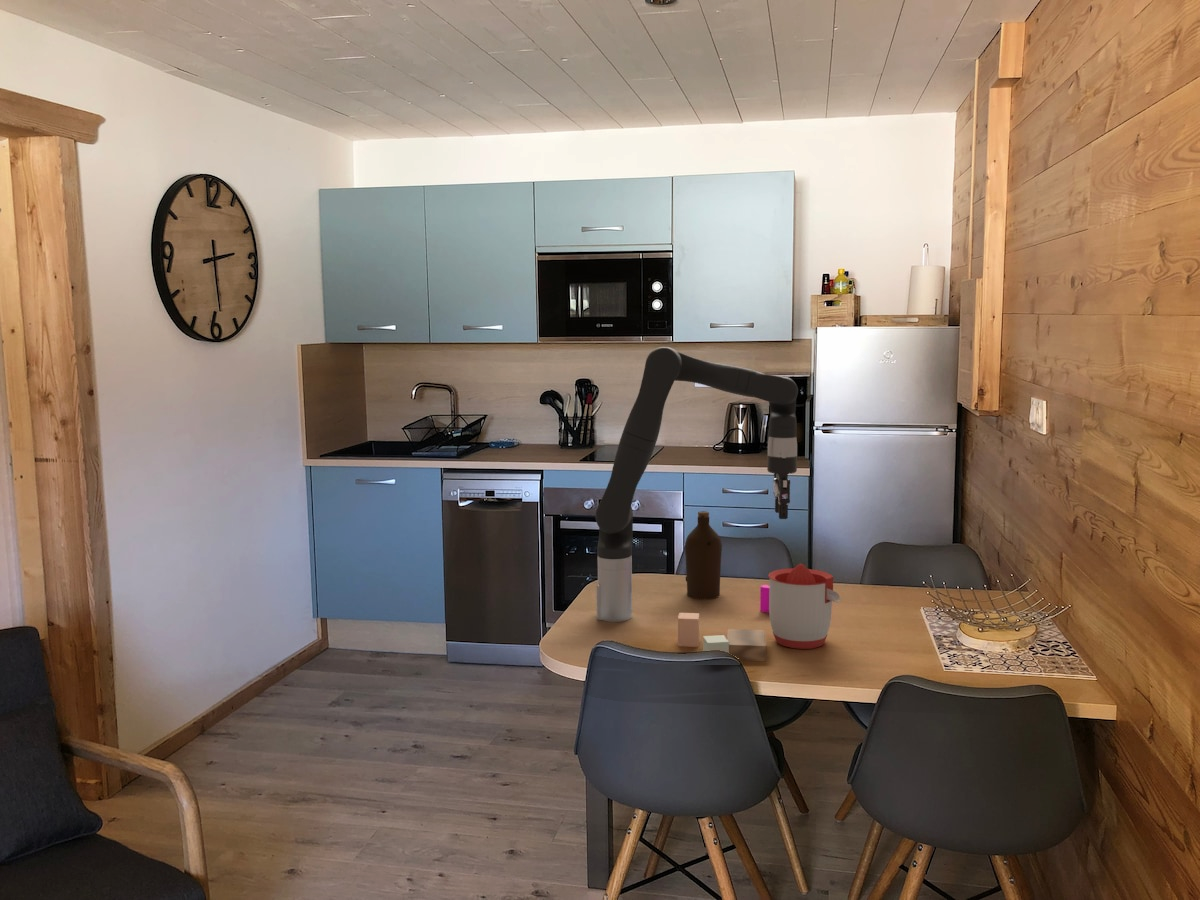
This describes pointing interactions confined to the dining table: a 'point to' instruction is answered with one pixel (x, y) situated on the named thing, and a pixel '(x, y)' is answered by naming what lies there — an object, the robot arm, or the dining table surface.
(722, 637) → the sage cube
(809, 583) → the citrus juicer
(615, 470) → the robot arm
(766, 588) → the toy block
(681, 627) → the clay block
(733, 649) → the walnut base block
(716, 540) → the olive oil
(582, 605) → the dining table surface
